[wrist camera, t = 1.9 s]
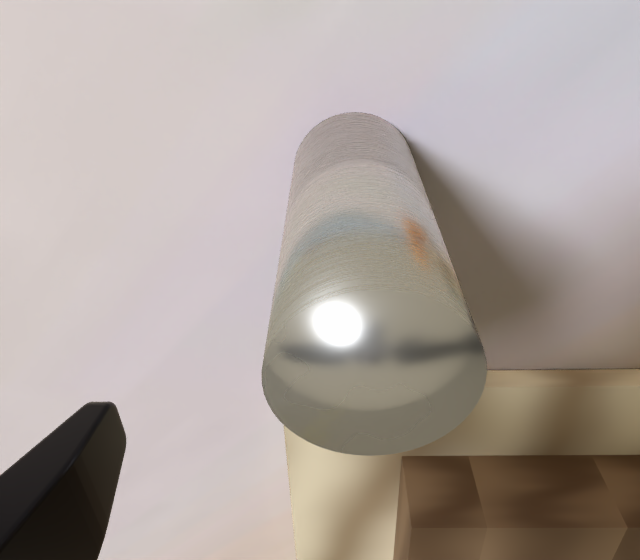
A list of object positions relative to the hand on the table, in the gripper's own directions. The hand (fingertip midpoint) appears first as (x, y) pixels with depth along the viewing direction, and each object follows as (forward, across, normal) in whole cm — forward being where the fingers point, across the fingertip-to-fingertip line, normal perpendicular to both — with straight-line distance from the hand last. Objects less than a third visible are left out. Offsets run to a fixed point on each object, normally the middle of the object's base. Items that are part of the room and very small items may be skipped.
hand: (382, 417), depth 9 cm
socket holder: (+11, -8, +19) cm, 23 cm away
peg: (+11, 0, 0) cm, 11 cm away
